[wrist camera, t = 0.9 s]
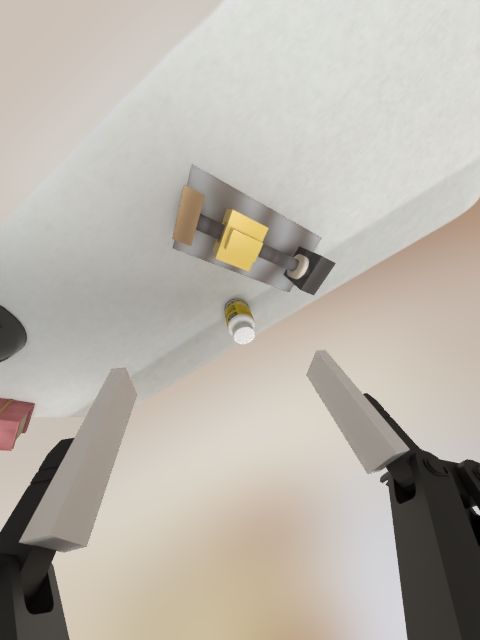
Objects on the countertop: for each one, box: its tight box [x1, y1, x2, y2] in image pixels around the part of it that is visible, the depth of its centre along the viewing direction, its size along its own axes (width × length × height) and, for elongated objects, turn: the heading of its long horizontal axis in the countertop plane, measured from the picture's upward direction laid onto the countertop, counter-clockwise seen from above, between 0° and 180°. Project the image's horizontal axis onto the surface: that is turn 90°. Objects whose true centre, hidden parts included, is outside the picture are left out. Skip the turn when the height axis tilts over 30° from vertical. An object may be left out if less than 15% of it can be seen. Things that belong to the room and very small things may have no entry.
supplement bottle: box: [225, 299, 255, 344], centre depth 36 cm, size 5×5×10 cm
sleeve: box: [213, 208, 269, 272], centre depth 24 cm, size 5×6×8 cm
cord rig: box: [172, 164, 336, 295], centre depth 29 cm, size 25×12×9 cm, turn 66°
